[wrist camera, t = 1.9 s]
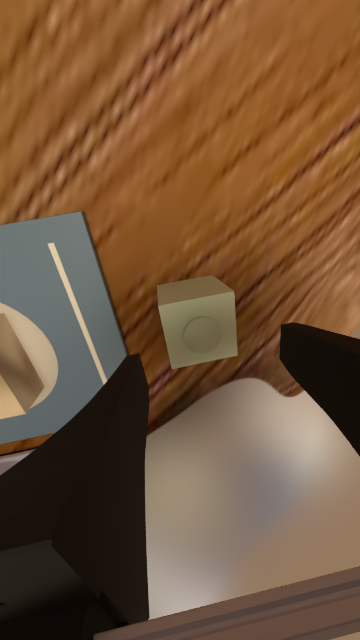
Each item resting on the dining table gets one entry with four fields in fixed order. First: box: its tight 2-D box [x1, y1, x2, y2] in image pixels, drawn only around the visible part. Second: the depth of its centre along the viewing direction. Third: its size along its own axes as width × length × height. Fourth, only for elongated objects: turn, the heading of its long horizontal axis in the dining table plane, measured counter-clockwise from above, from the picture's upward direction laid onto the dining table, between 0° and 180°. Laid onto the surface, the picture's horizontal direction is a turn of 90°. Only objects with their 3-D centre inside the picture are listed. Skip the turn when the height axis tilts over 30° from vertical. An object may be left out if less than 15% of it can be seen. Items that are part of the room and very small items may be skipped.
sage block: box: [157, 275, 238, 369], centre depth 15 cm, size 4×4×6 cm
